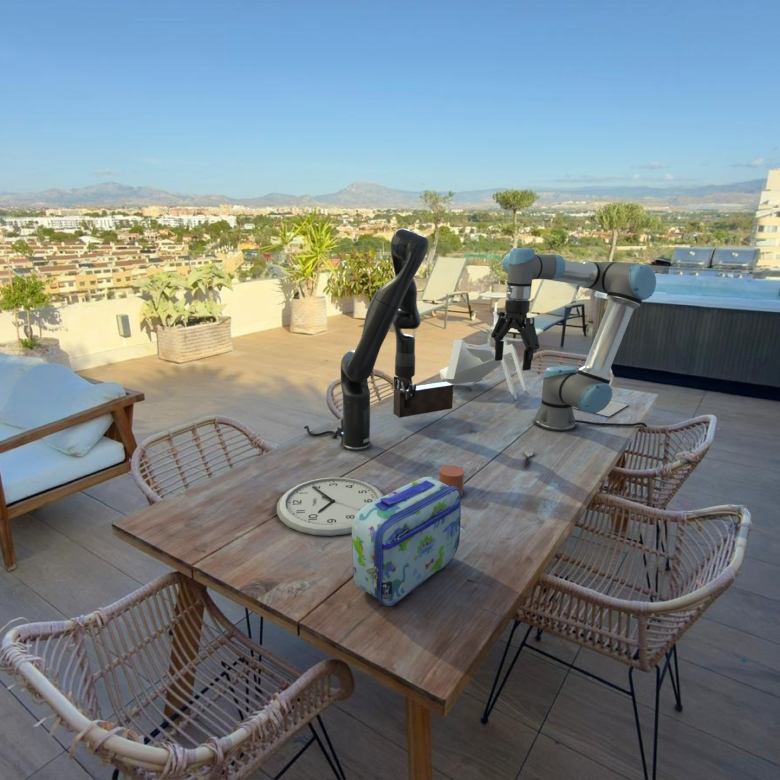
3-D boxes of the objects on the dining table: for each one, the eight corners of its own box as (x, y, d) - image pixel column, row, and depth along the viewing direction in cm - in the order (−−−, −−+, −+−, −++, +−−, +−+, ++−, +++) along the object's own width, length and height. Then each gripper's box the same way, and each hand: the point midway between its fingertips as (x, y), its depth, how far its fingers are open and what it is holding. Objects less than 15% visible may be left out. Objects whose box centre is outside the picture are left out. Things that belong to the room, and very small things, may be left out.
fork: (520, 469, 166) (521, 463, 165) (526, 450, 180) (526, 444, 180) (528, 470, 165) (529, 464, 164) (533, 451, 179) (534, 445, 179)
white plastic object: (461, 429, 252) (437, 405, 227) (444, 352, 274) (420, 323, 250) (535, 404, 240) (518, 377, 215) (510, 326, 262) (492, 293, 237)
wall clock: (392, 527, 129) (268, 531, 127) (391, 533, 130) (269, 537, 127) (383, 473, 158) (282, 475, 155) (383, 478, 158) (282, 480, 156)
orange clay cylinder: (462, 487, 154) (464, 466, 152) (463, 499, 147) (464, 477, 145) (438, 486, 154) (439, 464, 152) (438, 497, 148) (439, 475, 146)
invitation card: (608, 416, 214) (573, 407, 224) (608, 416, 214) (573, 408, 224) (628, 404, 229) (594, 396, 238) (628, 405, 229) (594, 397, 238)
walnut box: (445, 405, 213) (446, 381, 210) (452, 408, 209) (453, 384, 206) (393, 413, 202) (393, 389, 199) (399, 417, 198) (399, 392, 195)
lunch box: (381, 619, 101) (382, 525, 95) (345, 592, 109) (344, 503, 102) (464, 563, 119) (469, 480, 113) (428, 543, 126) (432, 464, 120)
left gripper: (387, 359, 200) (386, 402, 205) (405, 368, 188) (404, 413, 193) (404, 358, 203) (403, 399, 208) (423, 366, 191) (422, 410, 196)
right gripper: (483, 295, 172) (479, 357, 179) (537, 305, 151) (529, 375, 158) (501, 294, 176) (496, 355, 182) (556, 303, 155) (548, 372, 161)
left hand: (404, 405), depth 201 cm, fingers closed on walnut box, 5 cm apart
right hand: (512, 365), depth 170 cm, fingers open, 13 cm apart
